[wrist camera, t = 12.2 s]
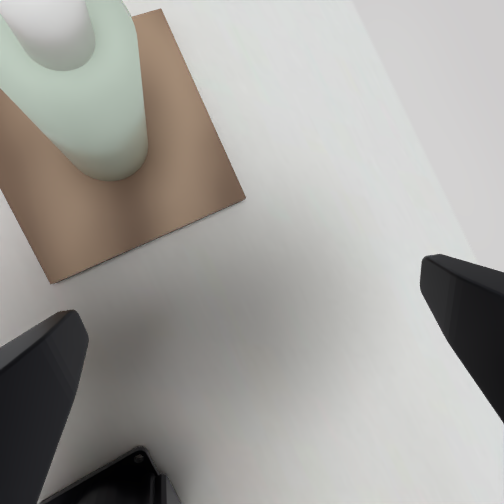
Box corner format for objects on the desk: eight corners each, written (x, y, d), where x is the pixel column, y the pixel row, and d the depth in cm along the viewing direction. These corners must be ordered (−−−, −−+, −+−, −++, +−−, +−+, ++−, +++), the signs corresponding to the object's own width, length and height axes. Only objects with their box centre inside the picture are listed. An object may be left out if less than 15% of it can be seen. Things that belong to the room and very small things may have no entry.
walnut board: (55, 282, 20) (50, 284, 19) (-50, 81, 19) (-61, 71, 18) (242, 200, 23) (246, 198, 22) (161, 19, 22) (161, 8, 21)
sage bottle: (86, 193, 20) (-31, 95, 8) (49, 118, 19) (-140, -115, 7) (160, 164, 21) (163, 38, 9) (127, 92, 20) (79, -150, 8)
